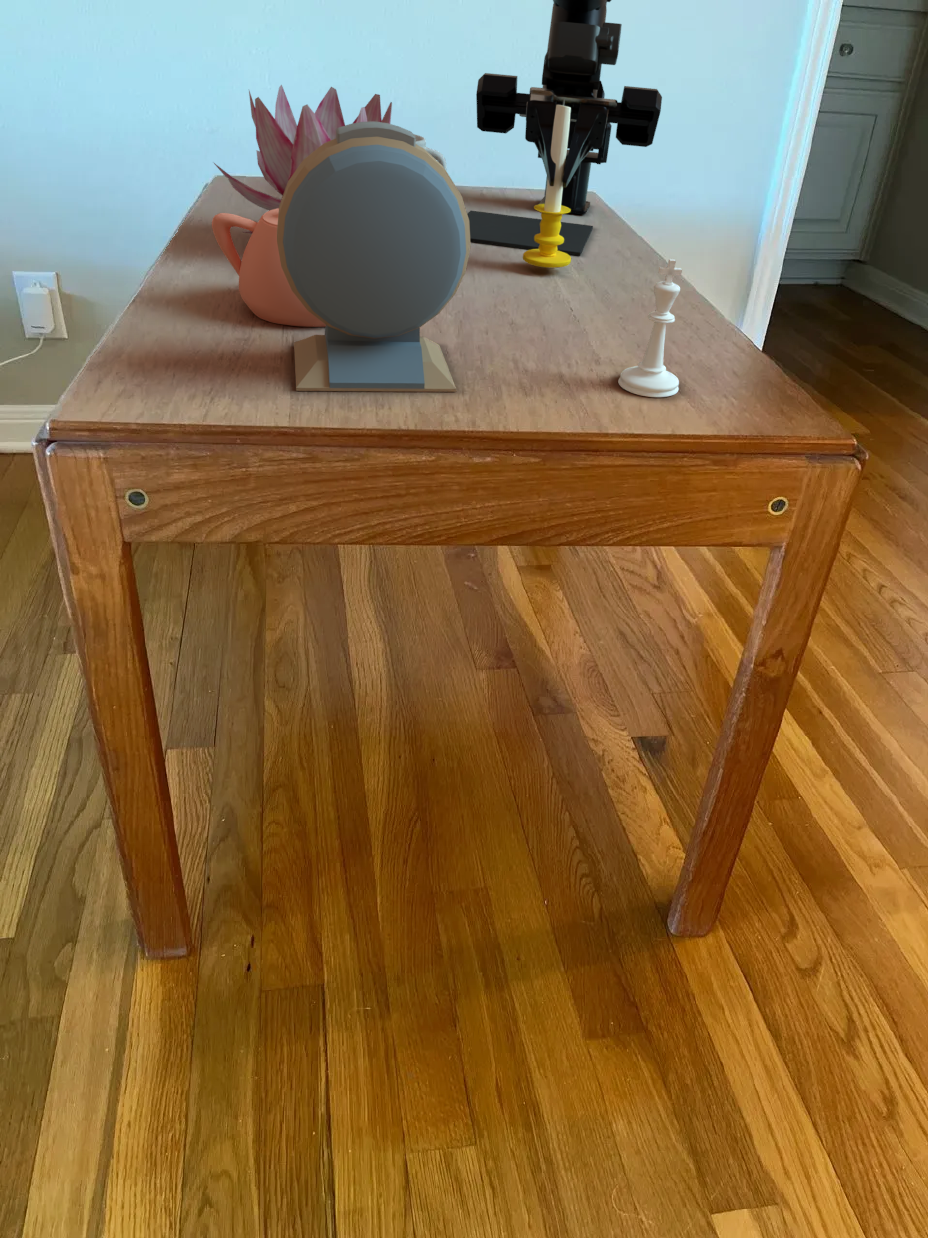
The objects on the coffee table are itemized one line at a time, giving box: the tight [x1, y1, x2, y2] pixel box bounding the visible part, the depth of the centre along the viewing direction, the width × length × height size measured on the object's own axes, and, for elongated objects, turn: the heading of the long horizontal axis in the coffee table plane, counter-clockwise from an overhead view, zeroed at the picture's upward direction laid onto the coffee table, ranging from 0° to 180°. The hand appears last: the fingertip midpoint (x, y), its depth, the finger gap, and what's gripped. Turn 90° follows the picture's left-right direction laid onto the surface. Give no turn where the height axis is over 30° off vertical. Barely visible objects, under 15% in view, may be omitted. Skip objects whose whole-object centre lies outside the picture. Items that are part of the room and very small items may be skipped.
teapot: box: [211, 208, 326, 328], centre depth 85 cm, size 12×18×10 cm
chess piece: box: [617, 258, 683, 398], centre depth 75 cm, size 5×5×10 cm
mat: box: [467, 210, 594, 257], centre depth 116 cm, size 14×16×1 cm
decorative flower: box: [212, 84, 393, 235], centre depth 99 cm, size 21×21×15 cm
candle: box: [522, 99, 572, 269], centre depth 98 cm, size 5×5×16 cm
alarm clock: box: [277, 121, 472, 393], centre depth 71 cm, size 14×10×18 cm
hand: (558, 184), depth 97 cm, fingers closed on candle
